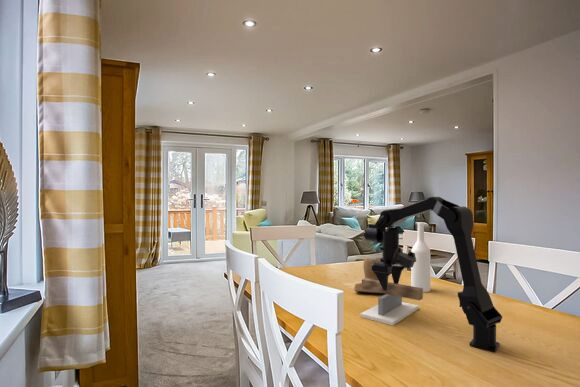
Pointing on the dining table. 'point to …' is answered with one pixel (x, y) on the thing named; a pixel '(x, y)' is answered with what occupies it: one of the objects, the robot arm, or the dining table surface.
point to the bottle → (421, 262)
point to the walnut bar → (393, 289)
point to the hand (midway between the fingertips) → (390, 287)
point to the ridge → (389, 310)
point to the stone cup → (367, 274)
